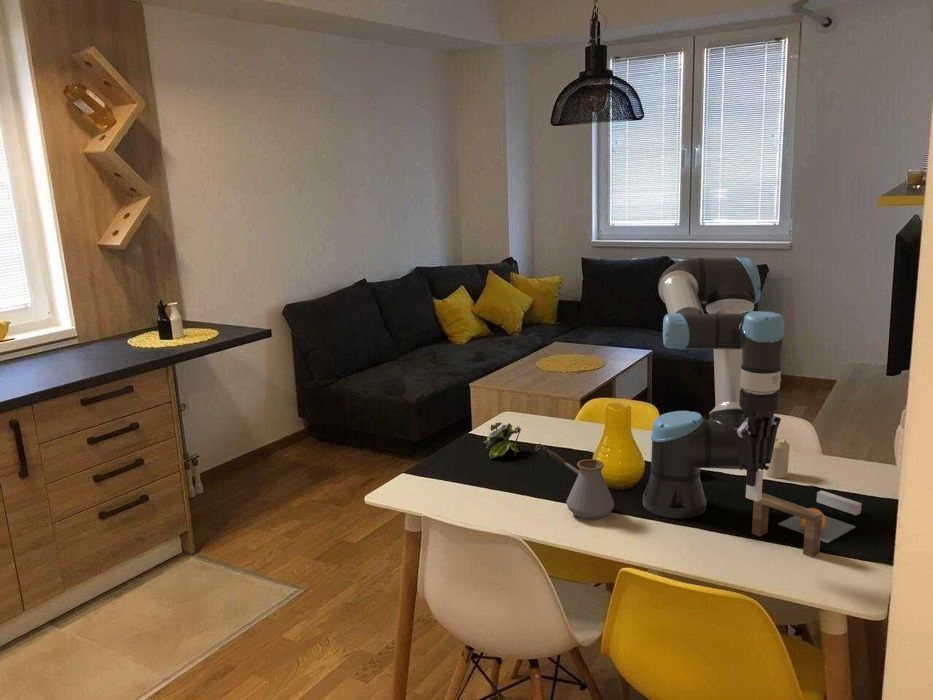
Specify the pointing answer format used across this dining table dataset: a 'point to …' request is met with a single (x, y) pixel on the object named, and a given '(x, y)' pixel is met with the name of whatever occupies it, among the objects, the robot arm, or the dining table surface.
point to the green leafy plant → (501, 440)
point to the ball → (802, 521)
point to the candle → (779, 460)
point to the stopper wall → (839, 502)
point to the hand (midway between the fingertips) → (753, 498)
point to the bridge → (811, 517)
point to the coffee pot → (587, 489)
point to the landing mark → (827, 533)
